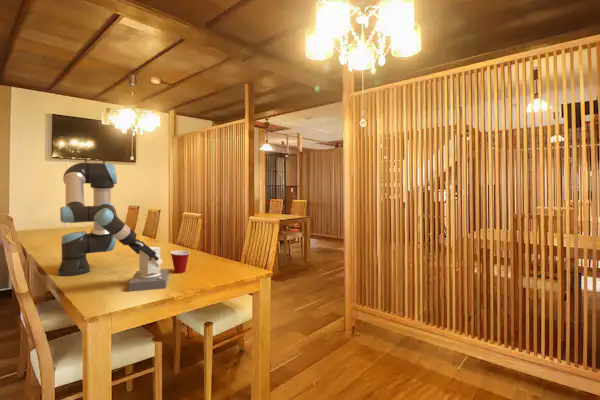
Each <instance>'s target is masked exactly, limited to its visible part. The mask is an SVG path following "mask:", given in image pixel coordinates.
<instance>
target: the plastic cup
mask: <svg viewBox="0 0 600 400" xmlns="http://www.w3.org/2000/svg"><path fill="white" fill-rule="evenodd" d="M169 254H170V255H171V259H172V265H173V269H174V273H175V274H183V273H185V272H186V270H187V263H188V261H189V260H188V259H189V255H190V254H191V252H190V251H188V250H172V251H170V253H169Z"/></svg>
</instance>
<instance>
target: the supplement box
mask: <svg viewBox="0 0 600 400" xmlns="http://www.w3.org/2000/svg"><path fill="white" fill-rule="evenodd" d="M148 247H149V248H151V249H152V250H153V251H154V252H156V255H157V256H158V257H159V258H160V259H161V247H159V246H148ZM138 256H139V258H138V259H139V260H138V261H139V262H138V263H139V266H138V267H139V270H138V271H139V272H140V273H144V274H151V273H155V272H160V269H161V264H160V265H158V264H157V263H156V262H155V261H153V260H152V259H150V256H148V255H147V254H145V253H144V252H143V251H141V250H139V254H138Z"/></svg>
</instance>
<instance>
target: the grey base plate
mask: <svg viewBox="0 0 600 400" xmlns="http://www.w3.org/2000/svg"><path fill="white" fill-rule="evenodd" d="M169 270H170V269H169V268H163V269H161V268H160V272H155V273H151V274H144V273H140V272H139V270H137V271H136V272H135V273H134V274H133V276H132V278H131V279H130V280H129V282H128V292H139V291H150V290H151V291H152V290H160V289H166V288H167V286H168V285H167V284H168V281H169V272H170V271H169Z"/></svg>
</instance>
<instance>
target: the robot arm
mask: <svg viewBox="0 0 600 400" xmlns="http://www.w3.org/2000/svg"><path fill="white" fill-rule="evenodd" d="M62 179H63V183H64V184H65V206H61V207H60V209H59V210H60V211H59V214H60V215H59V216H60V217H59V218H60V220H59V221H60V222H61V223H63V224H64V223H65V224H66V223H69V224H73V223H74V224H76V223H77V224H78V223H90V222H91V223H93V228H91V229H90V231H89V232H90V233H87V231H85V230H81V231H74V232H68V233H66V234H63V235H62V236H61V261H60V265H59V268H58V270H57V275H58V274H59V275H58V276H61V275H62V277H66V276H67V277H69V276H79V275H82V274H87V273H89V272H91V266H90V263H89V261H88V259H87V254H93V253H106V252H112V251H113V250H114V249H115V246H116V241H118V242H119V243H121V244H122V245H123V246H128V247H129V248H130V249H131V250H132V251H134V252H135V253H136V255H139V250H141V251H143V252H144V253H145V254H147V255H148V256H150V259H152V260H153V261H155V262H156V263H157V264H158V265H160V266H161V264H162V263H163V262H164V261H163V259H161V257H160V258H159V257H158V256H157V255H156V252H154V251H153V250H152V249H151V248H149V247H150V246H148V245H147V244H145V242H144V241H142V240H140V239H138V238H137V233H136V232H135V231H134V230H133V229H131V227H129V226H128V225H127V224H126V223H125V222H123V220H121V219H120V218H119V217H118V214H117V210H116V208H115V206H114V205H113V204H111V203H112V200H111V199H112V198H111V197H112V190H113V188H115V185H117V184H118V177H117V172H116V166H115V164H112V163H106V162H83V161H82V162H78V163H75V164H73V165H71V166H70V167H68V168H67V169H66V170H65V172H64V173H63V178H62ZM85 184H86V185H87V184H89V185H90V188H91V189H92V190H93V205H85V192H84V191H85V190H84V185H85Z"/></svg>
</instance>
